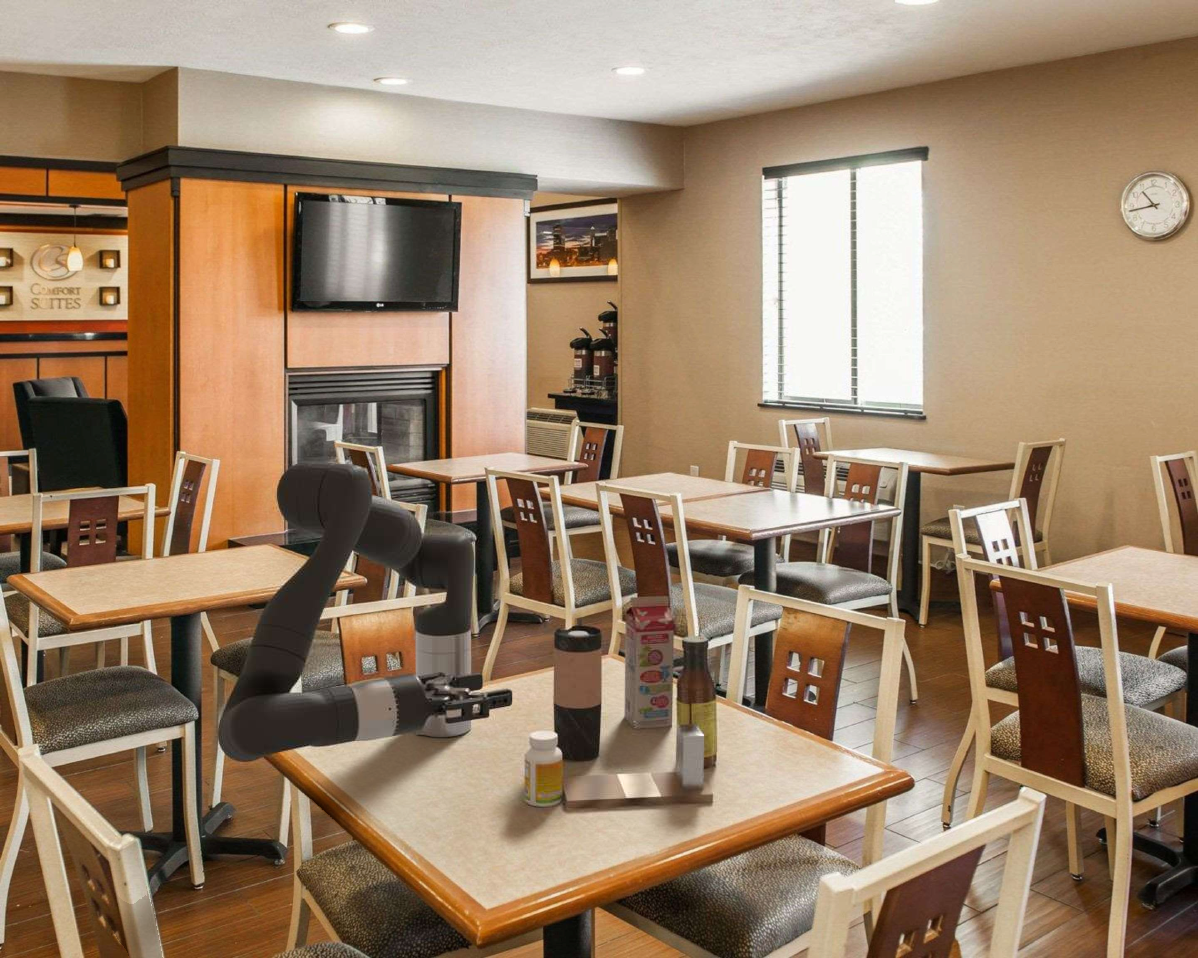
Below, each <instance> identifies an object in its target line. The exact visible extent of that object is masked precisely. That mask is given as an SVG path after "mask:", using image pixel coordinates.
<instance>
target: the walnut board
mask: <svg viewBox="0 0 1198 958" xmlns="http://www.w3.org/2000/svg"><path fill="white" fill-rule="evenodd" d="M562 797H563V799H564V803H565V807H566V809H567V810H573V809H578V810H579V809H594V808H597V809H598V808H619V807H637V806H639V807H640V806H659V805H661V806H662V805H679V804H680V805H681V804H683V805H684V804H685V805H686V804H699V803H700V804H701V803H702V804H703V802H707V803H713V801H714V794H713V792H712V790H711V789H710V787H709V785H708V784H707V781H706V780H705V778H704V777H703V789H693V790H682V788H681V786H680V784H679V782H678V780H677V779H676V771H665V772H664V771H663V772H661V771H660V772H636V773H618V774H615V773H614V774H596V775H595V774H594V775H593V774H592V775H591V774H590V775H572V776H571V775H569V776H562Z"/></svg>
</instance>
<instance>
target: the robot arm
mask: <svg viewBox="0 0 1198 958" xmlns="http://www.w3.org/2000/svg"><path fill="white" fill-rule="evenodd" d="M372 485H373V483H372V480H371V478H370V475H369V473H368V472H367V470H365V468H363V467H362V466H360V465H357V464H349V463H338V462H337V463H335V462H323V461H302V462H298V463H294V465H292V466H290V467H289V468H287V469H286V470H285V471H284V473H283V474H282V475H281V477H280V479H279V481H278V484H277V487H276V502H277V507H278V509H279V512H280V513H281V516H282V517H283V518H284V520H285V521H286V523H288V524H289V525H290V526H292V527H293V528H294V529H297V530H300V531H305V532H310V533H314V534H317V535H321V539H320V541H319V543H318V544H317V546H316V548H315V549H314V550H313V553H312V554H311V555H310V556H309V558H308V559H307V560H306V561H305V562H304V563H303V565H302V566H300V568H299V569H298V570H297V571H296V572H295V573H294V574H293V575H292V576H291V577H290V578H289V579H288V580H287V581H286V582H285V583H284V584H283V585H282V586H281V587H280V588H278V590H277V591H276V592H275V593H274V594H273V595H272V596H271V598H270V599H269V601H268V602H267V603H266V605H265V606H264V609H263V610H262V612H261V614H260V616H259V618H258V621H257V625H256V628H255V630H254V632H253V636H252V639H251V642H250V645H249V648H248V652H247V654H246V659H245V661H244V662H245V663H244V665H243V667H242V670H241V673H240V674H239V676H238V678H237V681H236V683H235V684H234V687H233V689H232V691H231V693H230V695H229V697H228V700H227V701H226V704H225V707H224V709H223V711H222V713H221V717H220V720H219V723H218V727H217V741H218V744H219V747H220V749H221V750H222V752H223V753H224V754H225V755H226V756H227V757H228V758H230V759H231V760H233V761H236V762H241V763H252V762H254V761H258V760H260V759H262V758H265V757H266V756H267V757H268V756H271V755H274V754H279V753H282V752H287V751H292V750H297V749H302V748H306V747H314V748H319V747H320V748H321V747H330V746H336V745H341V744H345V743H346V744H347V743H352V742H362V741H363V742H366V741H375V740H380V739H386V738H391V737H392V738H393V737H396V736H402V735H407V734H411V733H412V734H413V733H415V735H416V736H427V737H431V738H432V737H434V738H448V737H449V738H450V737H456V736H460V735H464V734H466V733H468V732H469V731H470V730H471V729H472V721H475V720H481V719H487V718H490V710H496V709H500V708H506V707H507V708H508V707H511V706H512V704H513V690H511V689H510V688H502V689H497V690H491V691H482V692H481V691H480V690H482V689H483V686H484V684H483V683H484V681H483V680H484V679H483V674H481V673H480V672H476V673H472V614H473V603H474V602H473V601H474V600H473V598H474V597H473V593H474V575H475V574H474V573H475V551H474V546H473V543H472V541H471V539H470V538H469V536H466V535H461V534H450V533H449V534H447V533H434V532H433V533H431V532H422V528H421V525H420V522H419V521H418V519H417V517H415V516H414V514H413V513H411V511H409V510H408V509H406V508H404V507H403V506H402V505H400V504H399V503H396V502H395V501H392V500H391V499H388V498H385V497H382V496H378V495H373V486H372ZM352 552H354V553H355V554H356V553H357V554H358V555H360V556H361V557H363V558H364V559H367V560H369V561H370V562H373V563H375V564H378V565H380V566H383V567H385V568H387V569H388V570H392V571H394V572H395V573H396V574H398V575H399V576H400V577H402V578H403V579H404V580H405V581H406V582H408V583H409V584H411V586H414V587H416V588H421V589H427V590H428V589H429V590H443V591H446V592H445V593H446V595H445V600H444V601H443V602H441V603H439V604H437V605H433V606H429V607H426V608H423V609H421V610H420V611H418V612H417V613H416V615H415V621H414V625H415V626H414V627H415V628H414V629H415V674H414V673H412V672H411V673H410V672H409V673H403V674H397V675H392V676H384V677H377V678H371V679H370V678H369V679H365V680H360V681H356V682H353V683H350V684H344V685H340V686H333V687H326V688H321V689H320V688H319V689H314V690H312V691H308V692H304V691H303V692H291V690H292V689H293V688H294V686H295V685H297V683H298V681H299V679H300V678H301V676H302V674H303V672H304V669H305V666H306V662H307V660H308V656H309V654H310V650H311V647H312V644H313V641H314V638H315V635H316V632H317V631H316V630H317V628H318V625H319V623H320V619H321V617H322V615H323V612H324V610H325V607H326V605H327V603H328V601H329V599H330V596H331V595H332V592H333V591H334V589H335V586H336V585H337V583H338V581H339V579H340V576H342V574H343V571H344V569H345V566H346V565H347V563H348V561H349V559H350V557H351V555H352ZM474 691H475V692H474ZM477 691H480V692H477ZM475 705H477V706H475Z"/></svg>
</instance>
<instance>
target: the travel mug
mask: <svg viewBox="0 0 1198 958" xmlns="http://www.w3.org/2000/svg"><path fill="white" fill-rule="evenodd" d="M553 636H554V639H553V640H554V641H553V644H554V646H553V729H554V731H553V732H555V733H556V734H557V737H558V743H557V746H556V747H558V748H559V749H560V750H561V752H562V761H563V760H564V761H567V760H568V761H569V762H587V761H591V760H594V759H596V758H597V757H599V755H600V751H601V750H600V746H601V729H602V728H601V726H602V723H601V722H602V701H603V700H602V699H603V698H602V695H603V694H602V688H603V687H602V686H603V685H602V684H603V683H602V679H603V677H602V676H603V675H602V672H603V670H602V667H603V666H602V665H603V664H602V660H603V659H602V658H603V656H602V653H603V652H602V649H603V646H602V645H603V644H602V643H603V642H602V641H603V640H602V638H603V637H602V629H600V628H598V627H595V626H590V625H582V624H581V625H580V624H579V625H578V624H577V625H572V626H571V627H570V628H568V629H561V628H560V627H558V628H556V629H554V635H553Z"/></svg>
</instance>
